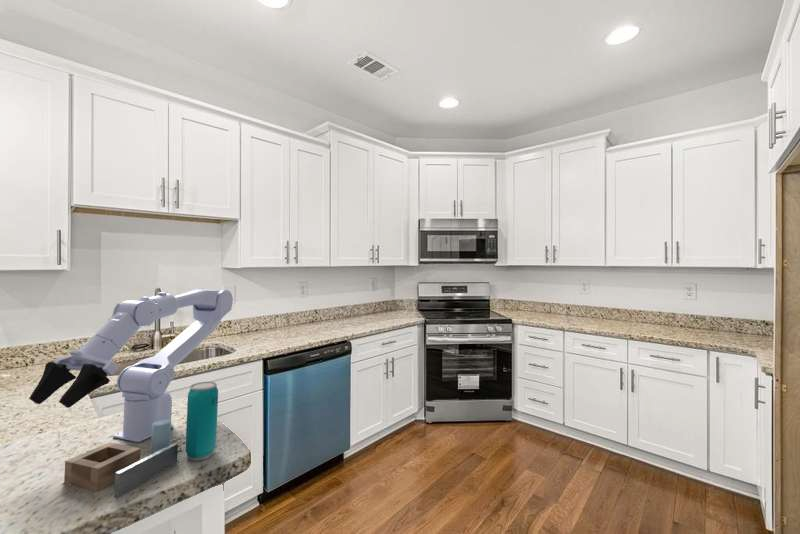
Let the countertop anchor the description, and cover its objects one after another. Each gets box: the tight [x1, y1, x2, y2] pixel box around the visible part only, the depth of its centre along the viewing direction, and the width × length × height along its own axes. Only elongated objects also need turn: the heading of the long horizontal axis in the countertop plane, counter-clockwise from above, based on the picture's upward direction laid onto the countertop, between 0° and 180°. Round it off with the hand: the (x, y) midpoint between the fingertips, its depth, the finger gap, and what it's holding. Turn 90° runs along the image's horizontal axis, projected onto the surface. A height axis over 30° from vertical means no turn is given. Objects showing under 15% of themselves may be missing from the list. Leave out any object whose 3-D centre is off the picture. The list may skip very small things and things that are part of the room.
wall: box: [113, 442, 179, 498], centre depth 70 cm, size 12×1×4 cm, turn 165°
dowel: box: [150, 420, 172, 455], centre depth 78 cm, size 3×3×7 cm
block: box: [63, 441, 141, 492], centre depth 70 cm, size 8×8×4 cm
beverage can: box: [185, 381, 219, 462], centre depth 79 cm, size 6×6×15 cm
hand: (48, 403), depth 69 cm, fingers open, 7 cm apart
